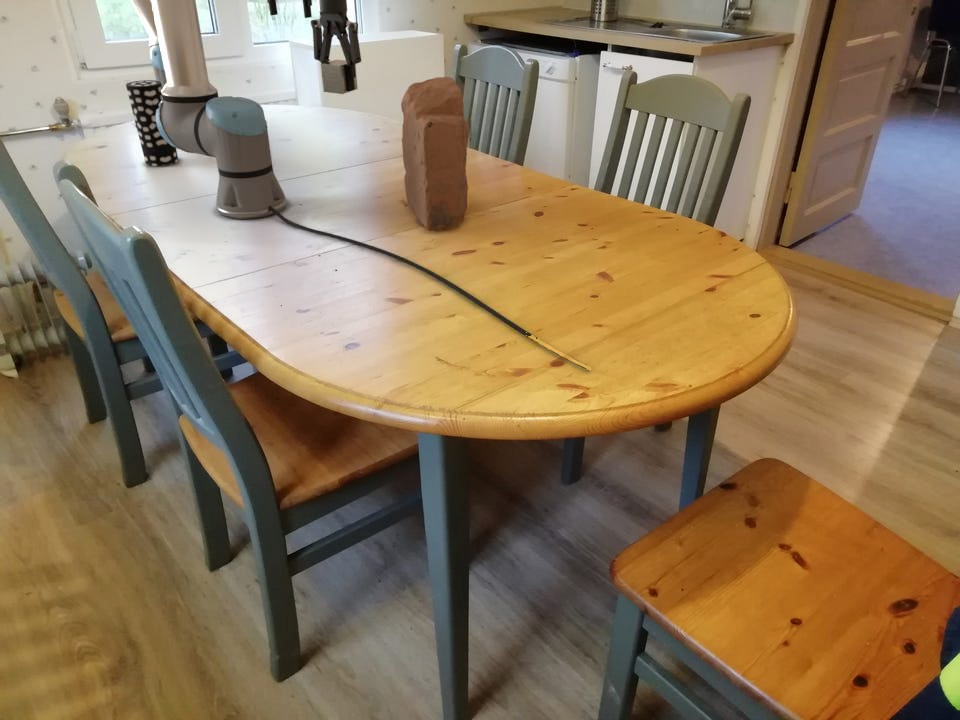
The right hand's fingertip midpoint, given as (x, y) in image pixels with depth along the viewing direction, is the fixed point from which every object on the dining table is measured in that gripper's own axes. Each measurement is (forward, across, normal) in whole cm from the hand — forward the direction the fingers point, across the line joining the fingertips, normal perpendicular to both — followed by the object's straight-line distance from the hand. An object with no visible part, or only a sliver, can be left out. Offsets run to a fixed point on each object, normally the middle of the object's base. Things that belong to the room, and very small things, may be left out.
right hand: (340, 89), depth 191 cm
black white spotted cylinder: (+6, +36, +34) cm, 50 cm away
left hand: (-13, +39, -32) cm, 52 cm away
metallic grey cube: (0, 0, 0) cm, 0 cm away
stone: (+16, -49, +35) cm, 62 cm away
